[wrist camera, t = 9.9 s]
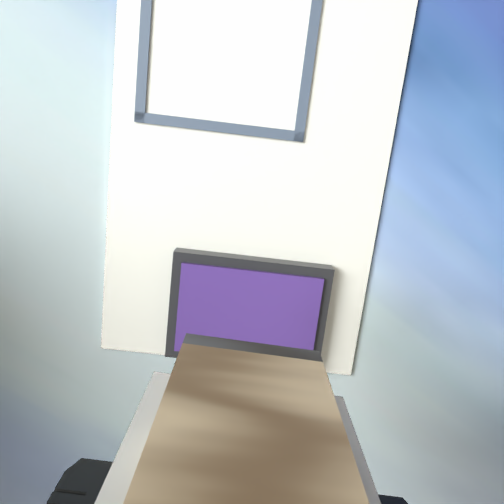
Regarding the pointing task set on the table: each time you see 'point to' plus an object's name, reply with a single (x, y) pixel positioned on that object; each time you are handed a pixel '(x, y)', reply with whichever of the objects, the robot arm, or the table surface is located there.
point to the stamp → (246, 430)
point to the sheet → (249, 148)
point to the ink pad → (247, 299)
